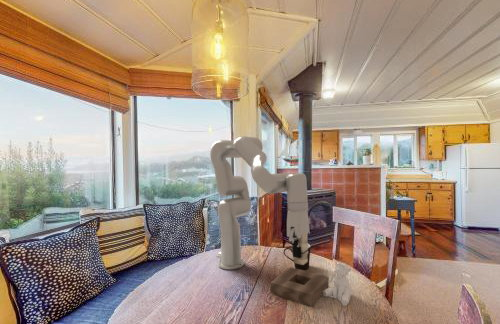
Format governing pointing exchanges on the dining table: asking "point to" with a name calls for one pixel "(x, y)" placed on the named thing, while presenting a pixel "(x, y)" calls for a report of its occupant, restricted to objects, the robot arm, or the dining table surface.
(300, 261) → the birch peg
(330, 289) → the sitting furry creature
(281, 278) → the walnut board
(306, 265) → the coffee mug
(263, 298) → the dining table surface
